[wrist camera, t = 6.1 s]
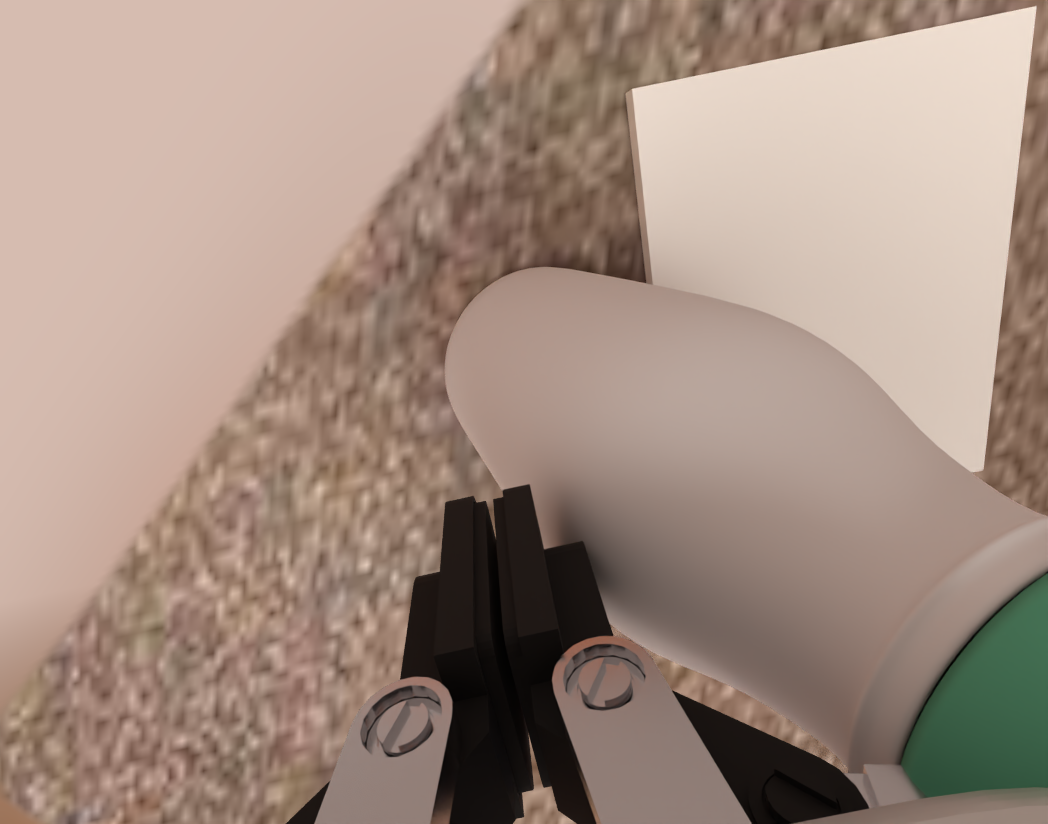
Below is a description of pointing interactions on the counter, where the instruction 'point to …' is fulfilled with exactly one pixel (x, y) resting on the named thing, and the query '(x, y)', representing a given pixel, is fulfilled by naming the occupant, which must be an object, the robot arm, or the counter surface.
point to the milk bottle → (768, 519)
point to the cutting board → (853, 203)
